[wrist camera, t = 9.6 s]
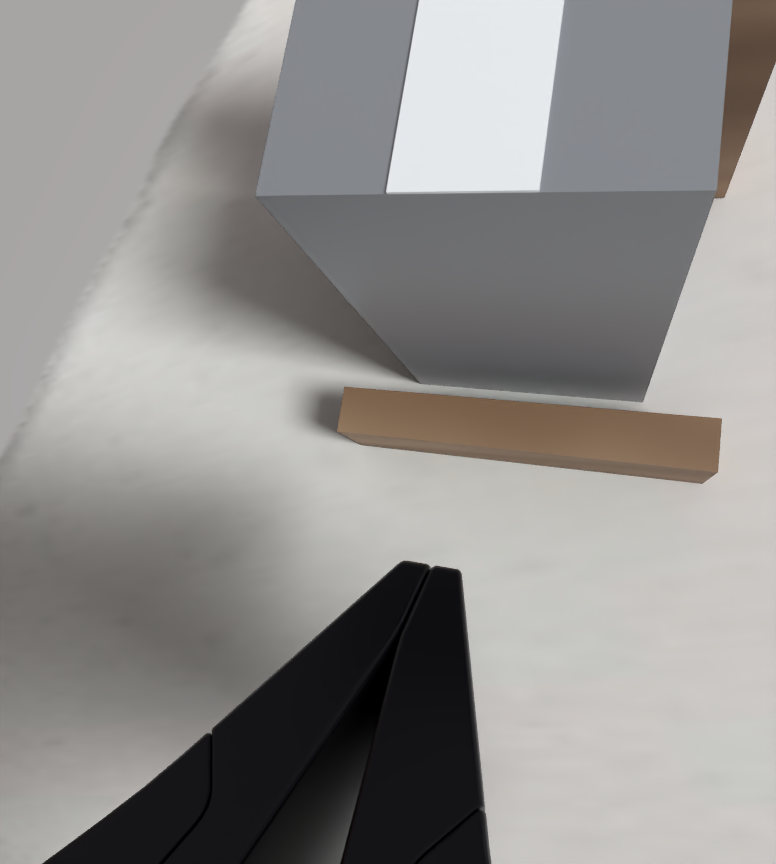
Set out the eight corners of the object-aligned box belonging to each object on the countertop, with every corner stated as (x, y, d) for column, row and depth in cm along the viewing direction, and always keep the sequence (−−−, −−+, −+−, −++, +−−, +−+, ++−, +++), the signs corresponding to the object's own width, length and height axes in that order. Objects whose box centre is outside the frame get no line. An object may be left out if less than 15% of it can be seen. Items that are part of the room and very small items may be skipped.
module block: (642, 402, 17) (718, 187, 7) (420, 383, 19) (253, 193, 9) (660, 224, 18) (747, -174, 8) (445, 224, 19) (314, -102, 10)
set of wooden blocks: (702, 483, 16) (871, 361, 7) (361, 445, 19) (138, 320, 9) (729, 130, 18) (898, -377, 8) (411, 142, 20) (263, -225, 11)
